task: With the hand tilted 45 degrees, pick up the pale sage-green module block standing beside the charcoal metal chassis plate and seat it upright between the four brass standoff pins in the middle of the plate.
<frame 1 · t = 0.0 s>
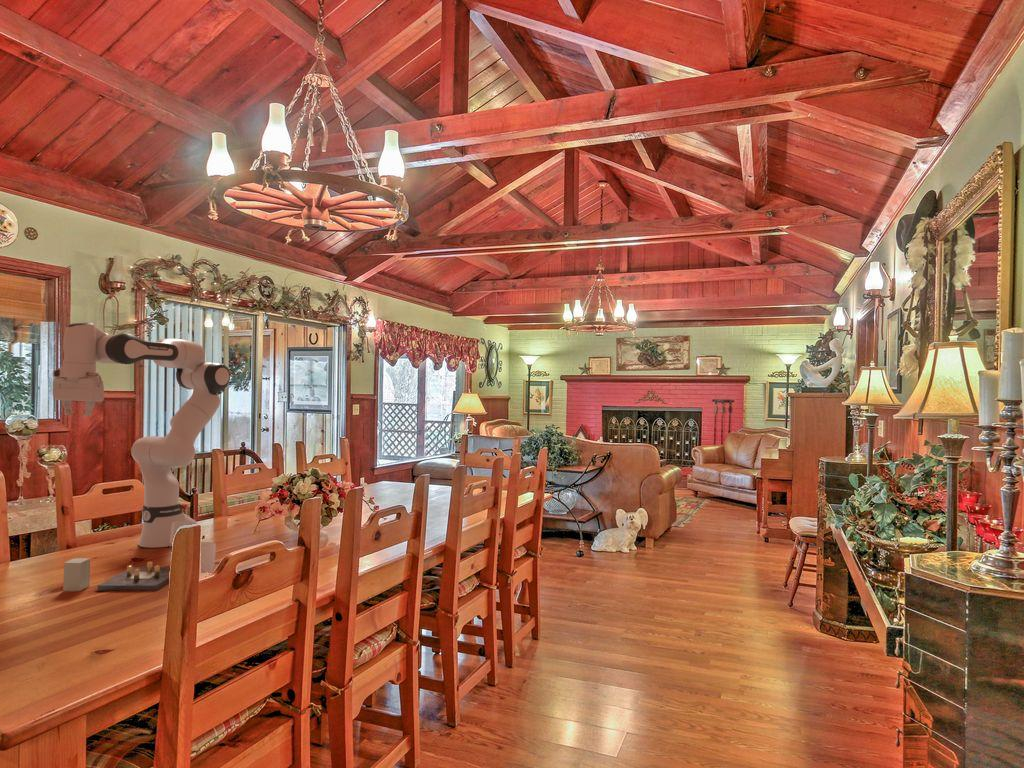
hand: (78, 415, 202), 48 cm above the table, tool pointing down, fingers open, 8 cm apart
module block: (76, 588, 179), on the table
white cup: (200, 578, 191), on the table
chassis: (143, 580, 187), on the table
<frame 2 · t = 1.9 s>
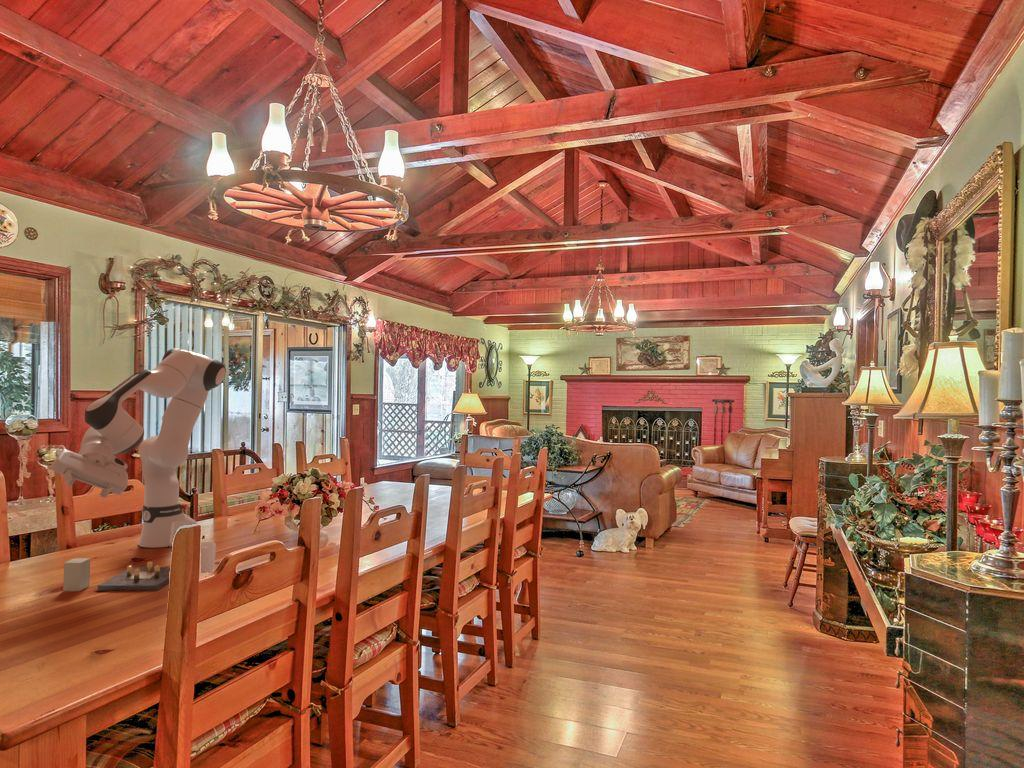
hand: (87, 489, 181), 28 cm above the table, tool tilted 60°, fingers open, 8 cm apart
nothing on the table moved.
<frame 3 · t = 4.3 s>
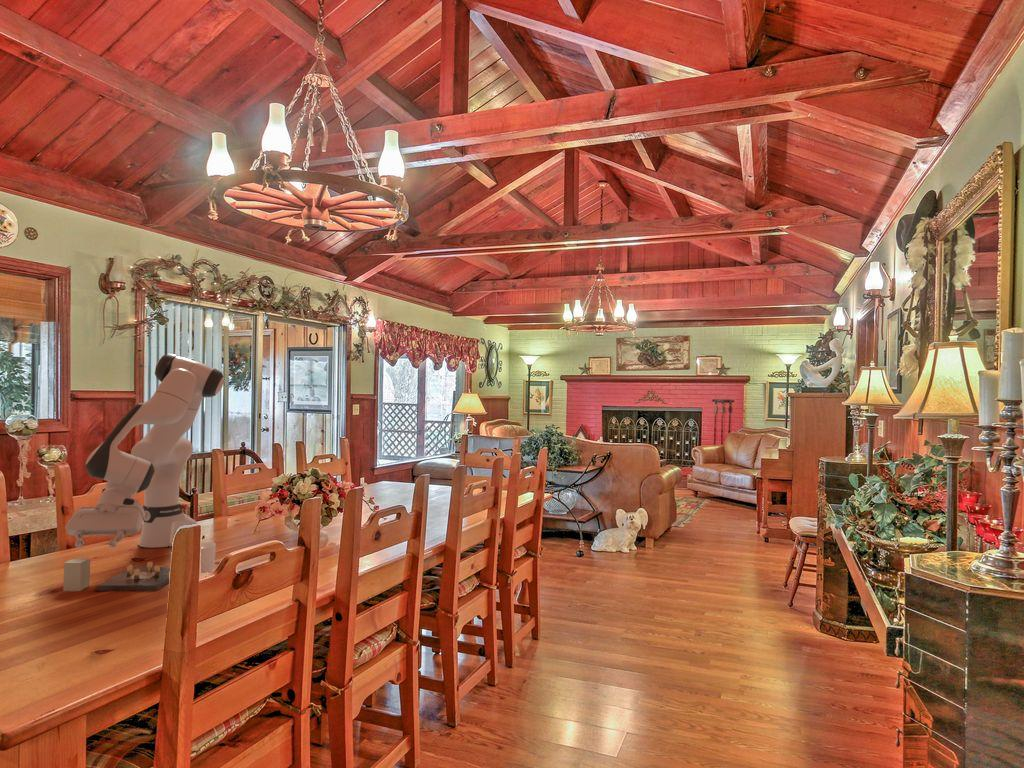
hand: (94, 546, 186), 10 cm above the table, tool tilted 45°, fingers open, 8 cm apart
nothing on the table moved.
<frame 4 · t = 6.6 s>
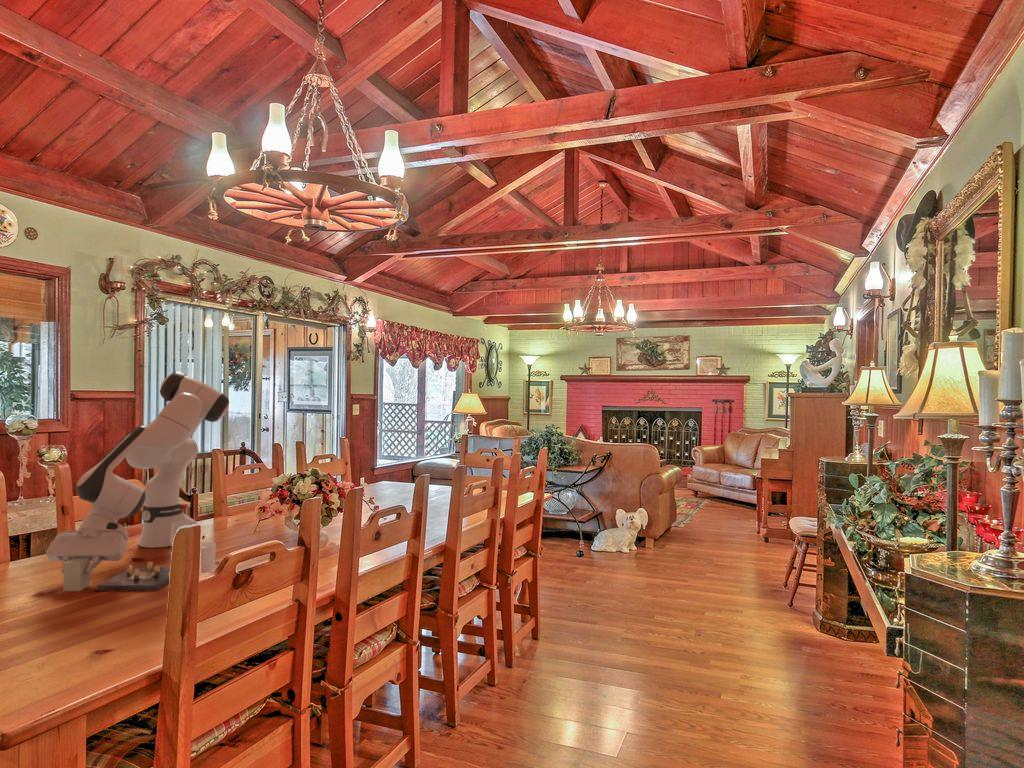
hand: (75, 573, 178), 5 cm above the table, tool tilted 45°, fingers closed on module block, 4 cm apart
module block: (76, 588, 179), on the table, touching gripper
everything else where it was.
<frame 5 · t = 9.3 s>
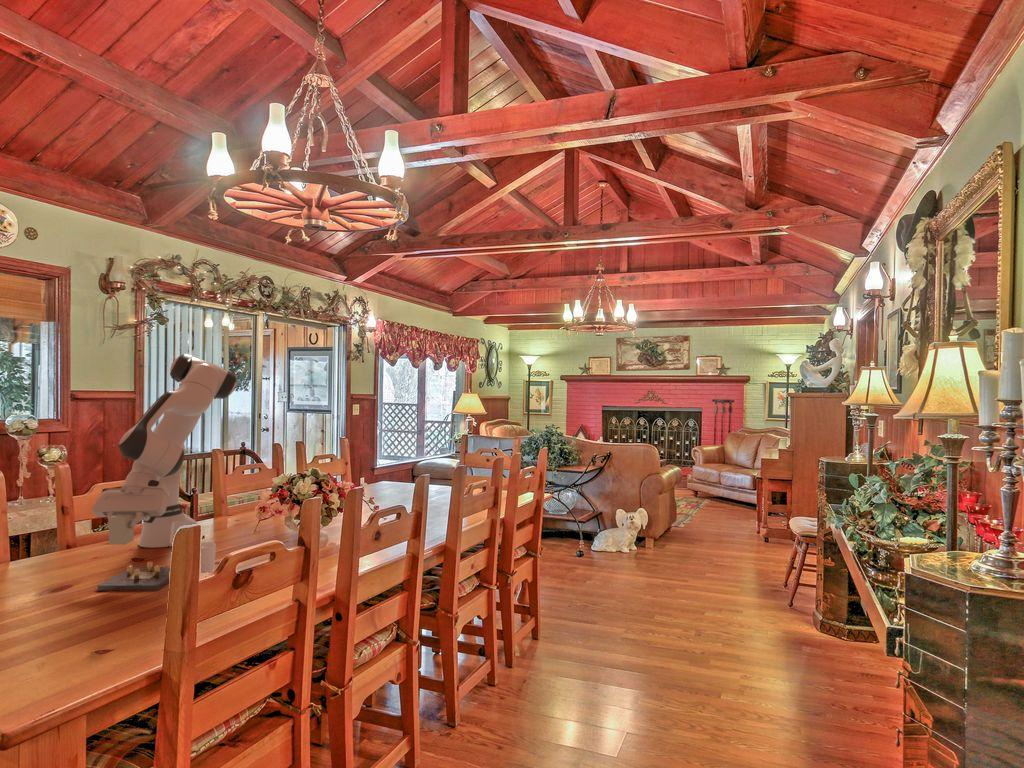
hand: (120, 527, 184), 17 cm above the table, tool tilted 45°, fingers closed on module block, 4 cm apart
module block: (121, 542, 184), point 12 cm above the table, touching gripper
everything else where it was.
when the fingers open (8 cm above the table, at t = 12.2 s): module block drops 1 cm, resting on chassis.
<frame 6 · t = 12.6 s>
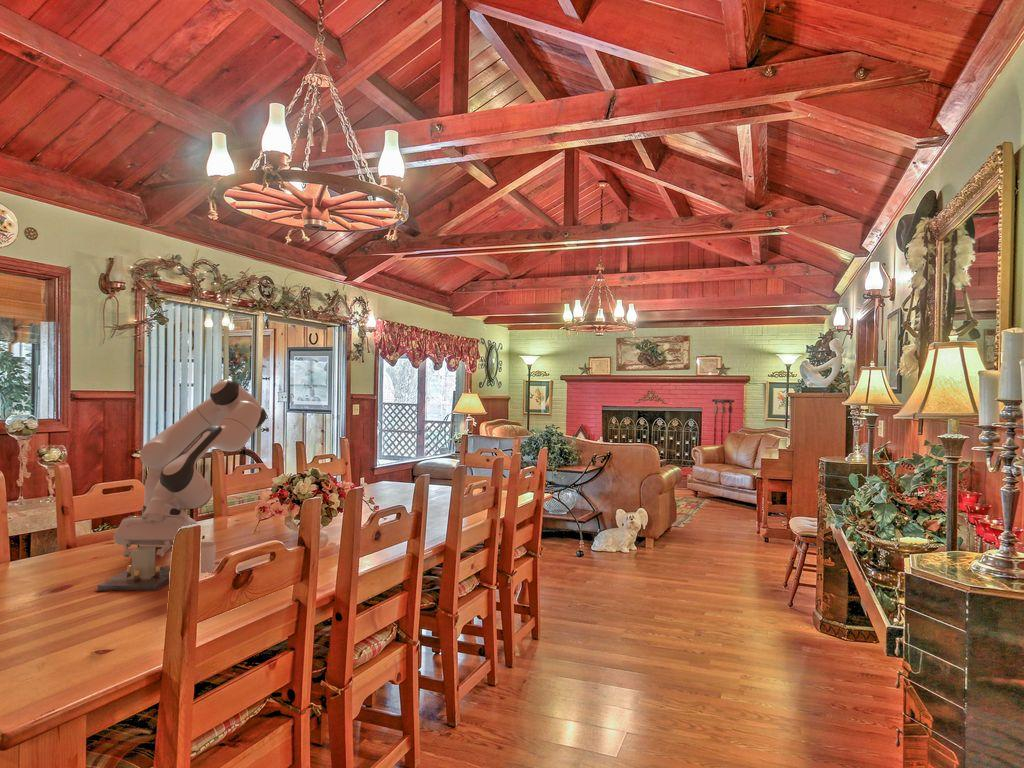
hand: (142, 556, 186), 8 cm above the table, tool tilted 45°, fingers open, 8 cm apart
module block: (143, 575, 187), point 2 cm above the table, touching chassis
everything else where it was.
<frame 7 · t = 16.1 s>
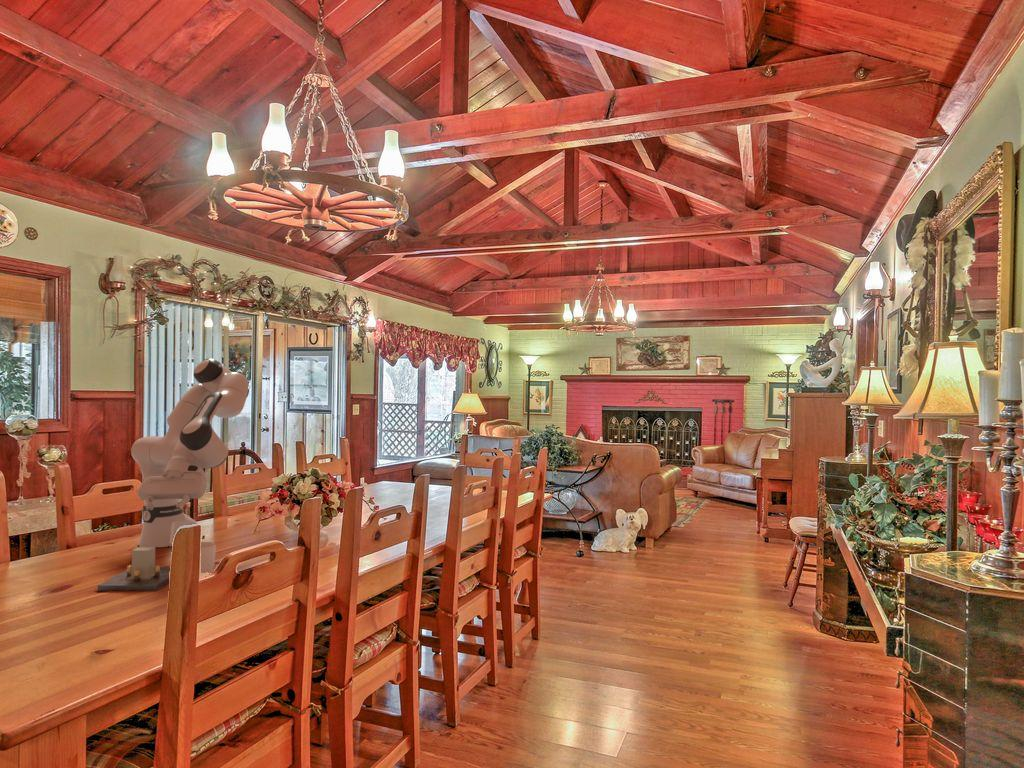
hand: (163, 508, 199), 19 cm above the table, tool tilted 45°, fingers open, 8 cm apart
nothing on the table moved.
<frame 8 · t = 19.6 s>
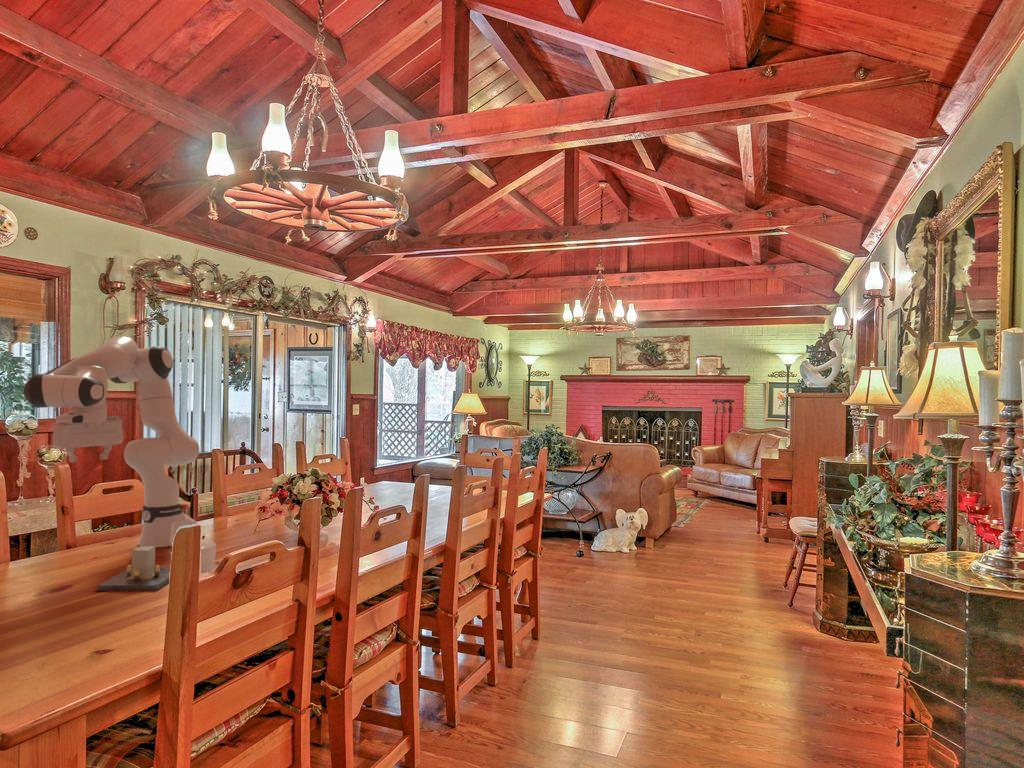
hand: (88, 460, 197), 34 cm above the table, tool pointing down, fingers open, 8 cm apart
nothing on the table moved.
at the end: module block 0.0 cm off-centre on the chassis, point 1.7 cm above the chassis's base; module block tilted 0°; the gripper is holding nothing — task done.
